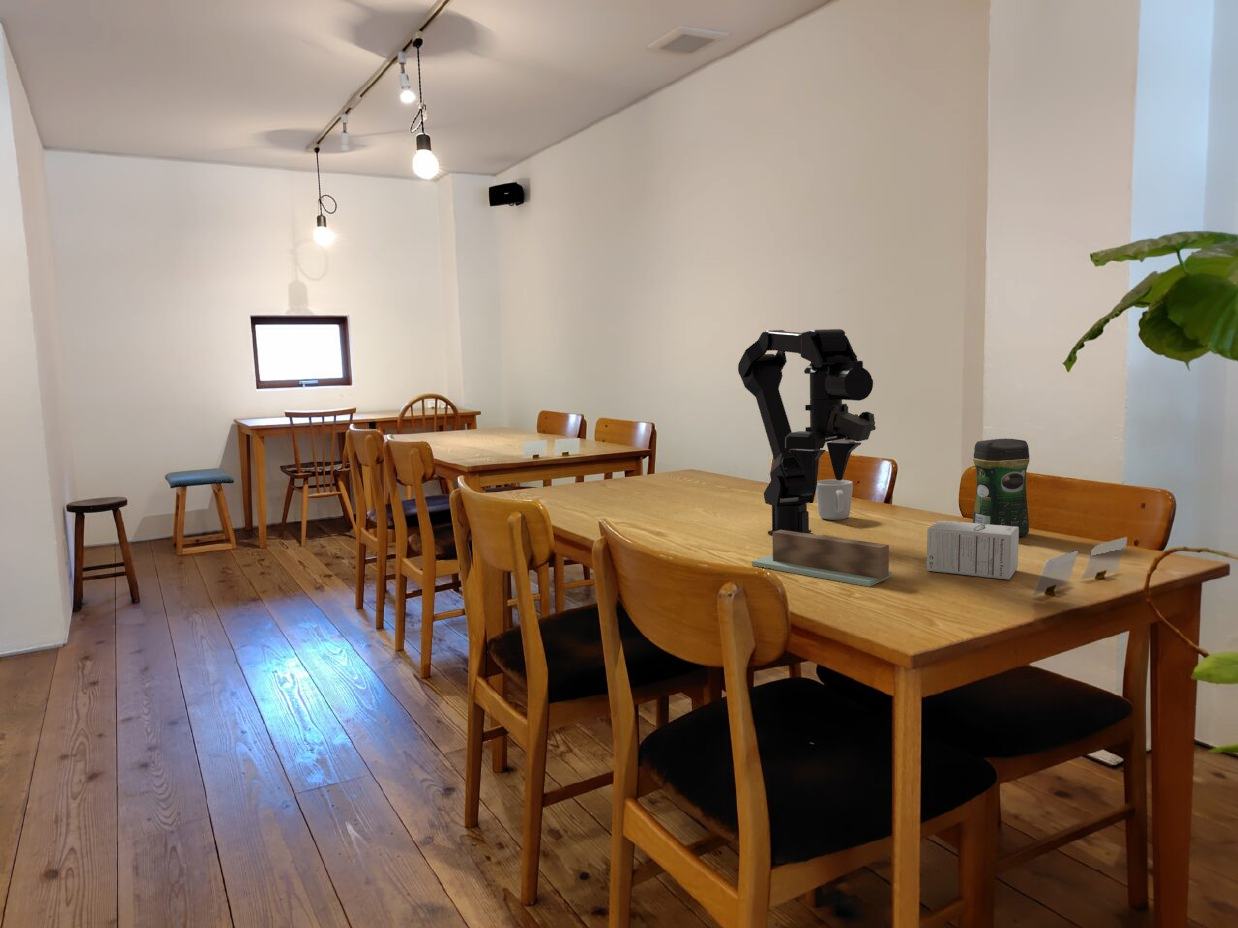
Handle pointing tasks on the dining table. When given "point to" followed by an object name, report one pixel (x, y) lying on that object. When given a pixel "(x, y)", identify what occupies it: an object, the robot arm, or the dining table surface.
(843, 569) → the wooden plank
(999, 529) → the supplement box
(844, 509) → the cup
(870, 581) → the tool mat
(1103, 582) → the dining table surface
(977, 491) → the coffee jar
